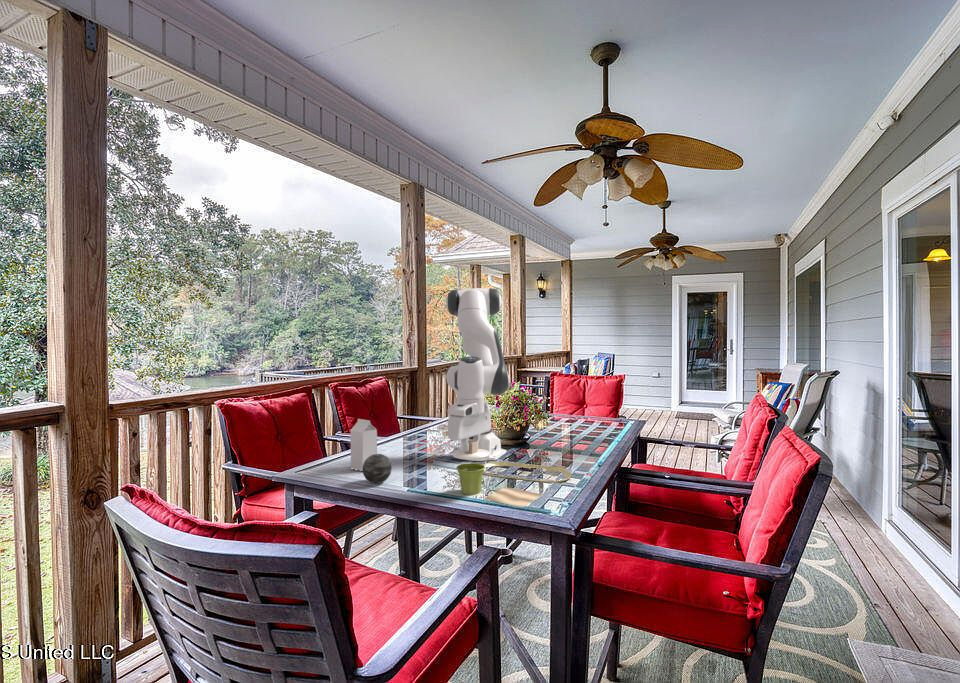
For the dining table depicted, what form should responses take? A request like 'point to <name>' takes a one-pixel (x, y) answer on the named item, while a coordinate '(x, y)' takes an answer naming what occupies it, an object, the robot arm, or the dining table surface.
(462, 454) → the lid
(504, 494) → the mat
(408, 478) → the dining table surface
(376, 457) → the decorative stone
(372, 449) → the milk carton
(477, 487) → the plant pot
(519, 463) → the oval gold ring
